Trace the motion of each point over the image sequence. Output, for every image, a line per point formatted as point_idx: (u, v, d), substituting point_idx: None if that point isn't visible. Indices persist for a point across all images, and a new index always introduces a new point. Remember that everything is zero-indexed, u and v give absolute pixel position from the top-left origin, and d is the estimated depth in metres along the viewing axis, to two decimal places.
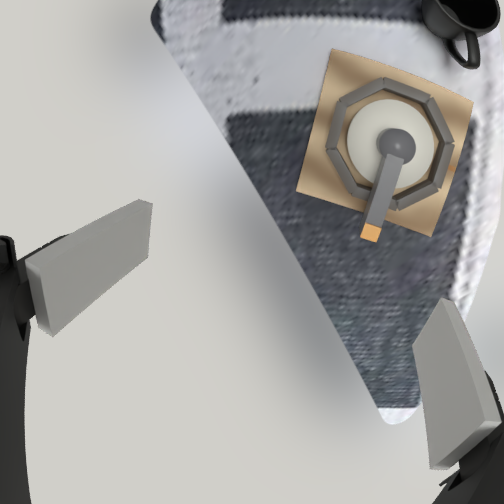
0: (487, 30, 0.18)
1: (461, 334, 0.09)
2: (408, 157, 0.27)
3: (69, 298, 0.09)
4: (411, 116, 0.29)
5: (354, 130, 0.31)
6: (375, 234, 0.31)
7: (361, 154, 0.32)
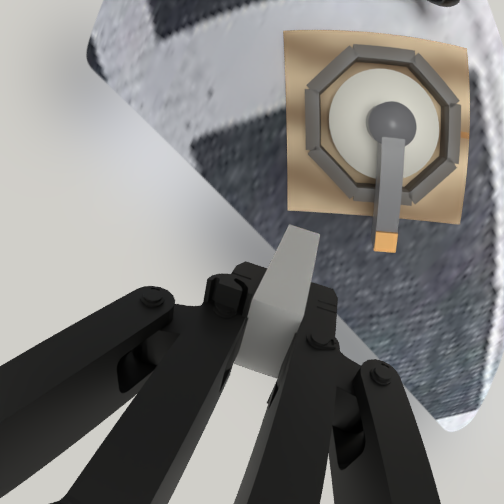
0: None
1: (304, 252, 0.12)
2: (409, 135, 0.20)
3: None
4: (399, 83, 0.22)
5: (336, 119, 0.25)
6: (392, 243, 0.23)
7: (352, 146, 0.25)
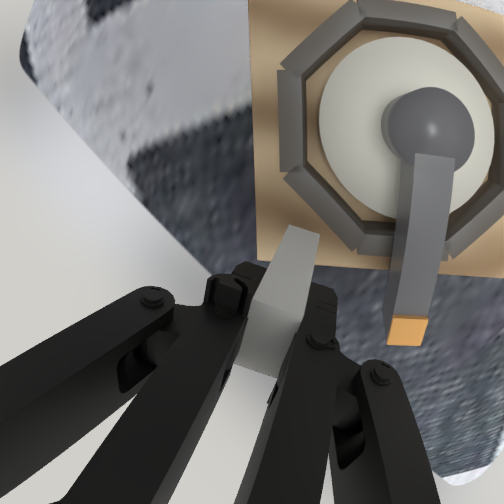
0: None
1: (304, 252, 0.12)
2: (463, 151, 0.10)
3: None
4: (435, 62, 0.12)
5: (330, 120, 0.15)
6: (417, 332, 0.13)
7: (358, 165, 0.15)
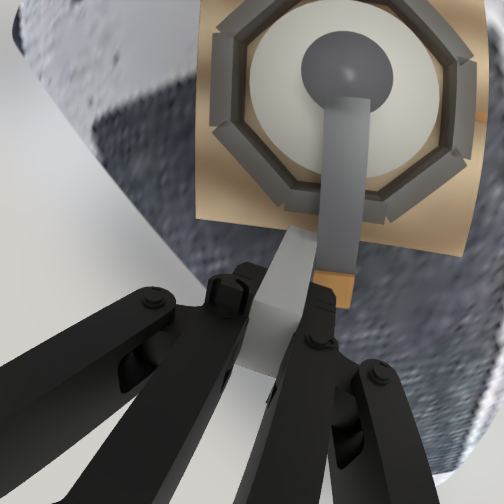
0: None
1: (303, 252, 0.12)
2: (379, 91, 0.10)
3: None
4: (369, 20, 0.12)
5: (260, 80, 0.15)
6: (343, 292, 0.14)
7: (287, 123, 0.15)
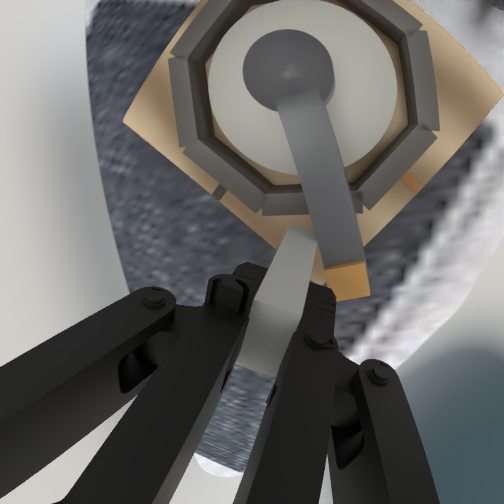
0: None
1: (303, 252, 0.12)
2: (322, 75, 0.10)
3: None
4: (299, 13, 0.13)
5: (222, 106, 0.16)
6: (359, 281, 0.13)
7: (260, 137, 0.16)
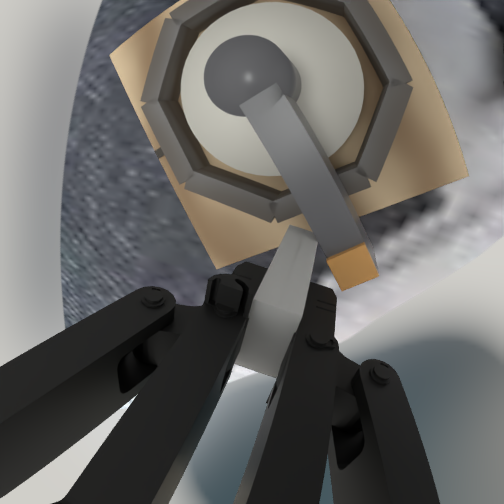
0: None
1: (303, 252, 0.12)
2: (279, 71, 0.11)
3: None
4: (250, 20, 0.13)
5: (200, 126, 0.17)
6: (364, 264, 0.13)
7: (242, 147, 0.17)
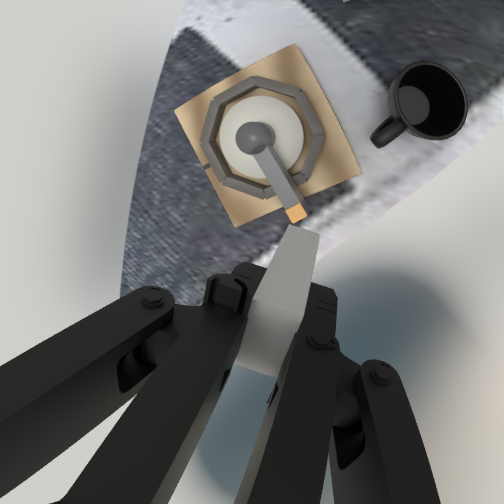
0: (418, 133, 0.26)
1: (304, 252, 0.12)
2: (265, 137, 0.31)
3: None
4: (252, 104, 0.34)
5: (229, 155, 0.37)
6: (300, 211, 0.33)
7: (249, 165, 0.37)
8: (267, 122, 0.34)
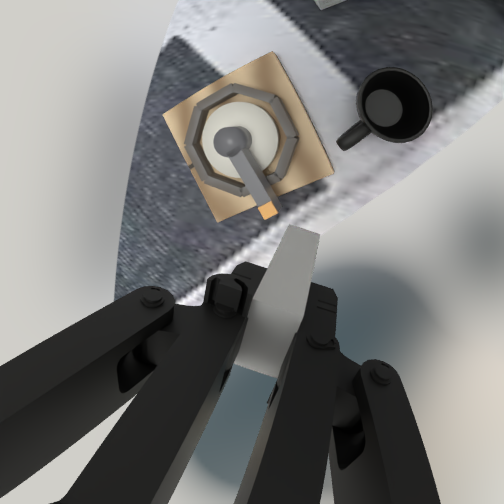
0: (381, 136, 0.29)
1: (304, 252, 0.12)
2: (239, 141, 0.35)
3: None
4: (231, 110, 0.37)
5: (211, 156, 0.40)
6: (271, 208, 0.37)
7: (228, 166, 0.40)
8: (244, 126, 0.38)
